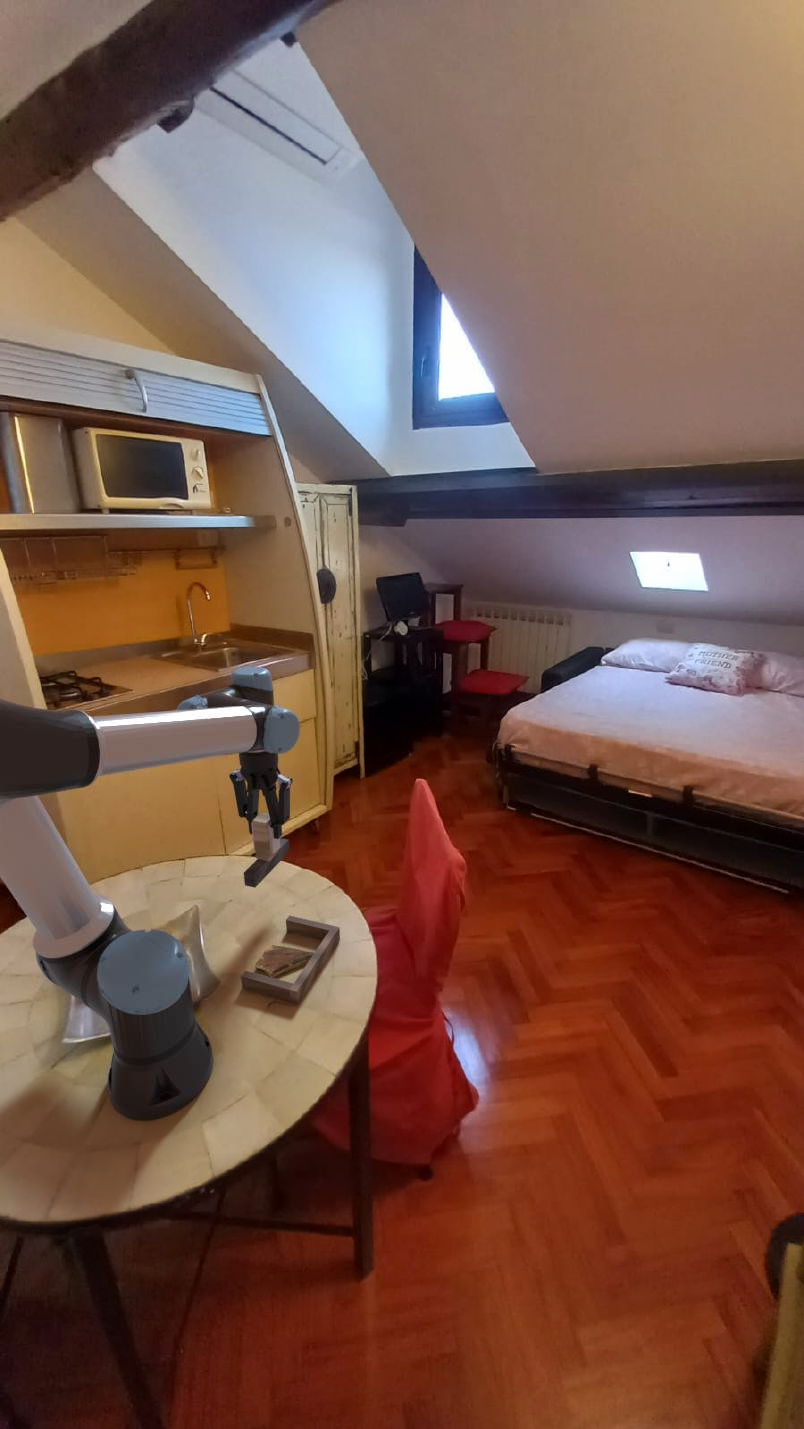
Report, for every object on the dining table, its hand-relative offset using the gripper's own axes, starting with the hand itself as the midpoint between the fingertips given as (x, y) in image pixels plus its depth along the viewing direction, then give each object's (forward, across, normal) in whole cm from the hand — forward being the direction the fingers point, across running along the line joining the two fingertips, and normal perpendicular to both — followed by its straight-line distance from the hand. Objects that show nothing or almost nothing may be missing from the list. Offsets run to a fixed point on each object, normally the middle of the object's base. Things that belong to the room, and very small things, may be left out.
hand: (267, 848), depth 125 cm
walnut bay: (+16, -12, +12) cm, 23 cm away
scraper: (+4, 0, 0) cm, 4 cm away
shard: (+17, -9, +11) cm, 22 cm away
